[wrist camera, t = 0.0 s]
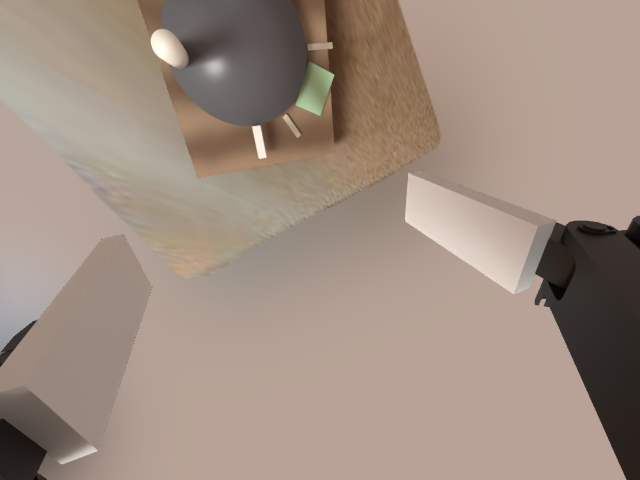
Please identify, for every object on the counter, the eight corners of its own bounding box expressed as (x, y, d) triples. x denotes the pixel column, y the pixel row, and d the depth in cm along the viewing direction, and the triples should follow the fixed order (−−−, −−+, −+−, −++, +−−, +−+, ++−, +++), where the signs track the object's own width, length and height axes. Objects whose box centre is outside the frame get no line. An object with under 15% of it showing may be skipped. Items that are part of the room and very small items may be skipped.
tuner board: (131, -36, 26) (118, -56, 22) (313, -37, 30) (326, -54, 26) (199, 170, 36) (197, 178, 32) (328, 147, 40) (339, 152, 37)
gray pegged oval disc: (136, -40, 23) (104, -94, 16) (293, -40, 26) (320, -86, 19) (202, 165, 32) (198, 184, 25) (313, 146, 35) (336, 158, 28)
